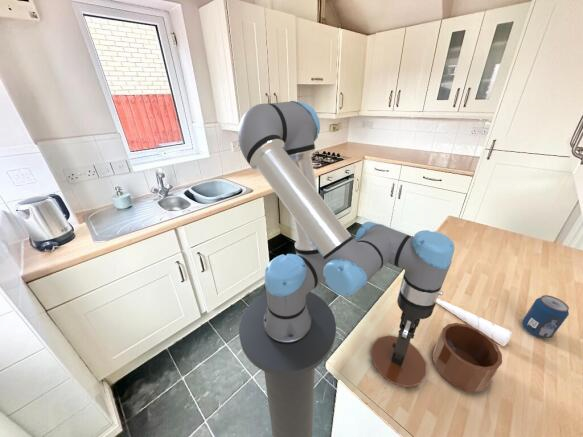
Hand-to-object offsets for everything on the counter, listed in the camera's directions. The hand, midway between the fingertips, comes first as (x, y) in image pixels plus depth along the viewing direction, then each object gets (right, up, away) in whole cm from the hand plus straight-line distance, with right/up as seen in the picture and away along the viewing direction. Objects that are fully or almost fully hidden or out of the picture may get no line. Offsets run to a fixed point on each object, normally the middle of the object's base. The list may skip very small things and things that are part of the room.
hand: (398, 357), depth 66 cm
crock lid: (0, -1, +1) cm, 1 cm away
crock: (+16, -2, -1) cm, 16 cm away
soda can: (+46, +3, +8) cm, 47 cm away
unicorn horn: (+27, +5, +12) cm, 30 cm away
